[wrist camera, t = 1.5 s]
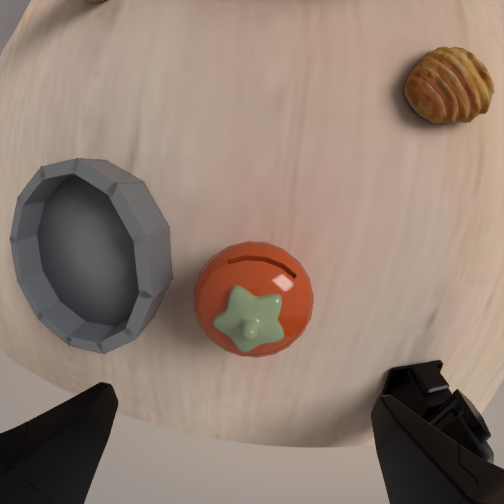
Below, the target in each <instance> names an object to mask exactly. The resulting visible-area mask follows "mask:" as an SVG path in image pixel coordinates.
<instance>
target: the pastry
mask: <svg viewBox="0 0 504 504" xmlns="http://www.w3.org/2000/svg"><path fill="white" fill-rule="evenodd" d="M404 93H405V97H406V98H407V100H408V102H409V104H410V105H411V107H412V108H413V109H414V110H415V111H416V112H417V113H418V114H419V115H420V116H422V117H423V118H425V119H427V120H429V121H431V122H432V123H435V124H438V123H449V124H454V123H458V122H471V120H473V119H474V118H475V117H476V116H477V115H479V114H484V113H486V112H487V111H488V109H489V104H490V103H491V100H492V95H493V93H494V85H493V81H492V78H491V76H490V74H489V72H488V70H487V68H486V67H485V65H484V64H483V63H482V62H480V61H479V60H478V59H477V58H476V56H475V55H474V54H473V53H471V52H469V51H467V50H465V49H464V48H458V47H453V48H448V47H440V48H437V49H436V50H434V51H432V52H429V53H427V54H426V55H425V57H424V58H423V59H422V60H421V62H420V63H419V64H418V65H417V66H416V67H415V69H413V71H412V72H411V73H410V75H409V76H408V78H407V81H406V84H405V87H404Z"/></svg>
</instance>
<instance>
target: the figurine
mask: <svg viewBox="0 0 504 504" xmlns="http://www.w3.org/2000/svg"><path fill="white" fill-rule="evenodd" d="M83 1H85V2H87V3H90V4H94V3H98V2H102V1H105V0H83Z"/></svg>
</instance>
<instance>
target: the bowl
mask: <svg viewBox="0 0 504 504" xmlns="http://www.w3.org/2000/svg"><path fill="white" fill-rule="evenodd" d="M169 228H170V227H169V225H168V224H167V222H166V220H165V218H164V217H163V215H162V213H161V212H160V210H159V208H158V206H157V205H156V203H155V201H154V199H153V197H152V196H151V194H150V192H149V190H148V189H147V187H146V185H145V183H144V181H142V180H140V179H138V178H137V177H135V176H133V175H131V174H130V173H128V172H126V171H124V170H123V169H121V168H119V167H117V166H116V165H114V164H112V163H110V162H108V161H107V160H99V159H85V158H76V159H72V160H67V161H63V162H59V163H54V164H50V165H46V166H41V167H40V169H39V170H38V171H37V172H36V174H35V175H34V176H33V178H32V179H31V180H30V181H29V183H28V184H27V185H26V187H25V188H24V189H23V191H22V192H21V194H20V195H19V196H18V199H17V203H16V208H15V213H14V218H13V224H12V230H11V236H10V241H11V248H12V255H13V261H14V266H15V271H16V276H17V281H18V283H19V285H20V287H21V289H22V291H23V293H24V295H25V297H26V298H27V300H28V302H29V304H30V306H31V307H32V309H33V311H34V313H35V314H36V316H37V318H38V319H39V320H40V321H41V322H42V323H43V324H44V325H45V326H47V327H48V328H49V329H50V330H51V331H52V332H53V333H55V334H56V335H57V336H58V337H59V338H61V339H62V340H63V341H64V342H66V343H67V344H68V345H69V346H73V347H77V348H81V349H85V350H89V351H93V352H98V353H102V354H105V353H107V352H109V351H111V350H114V349H116V348H118V347H120V346H122V345H124V344H126V343H129V342H131V341H133V340H136V339H137V337H138V336H139V335H140V334H141V332H142V331H143V330H144V329H145V327H146V326H147V325H148V324H149V322H150V321H151V320H152V319H153V318H154V316H155V314H156V312H157V310H158V307H159V305H160V303H161V301H162V299H163V297H164V295H165V293H166V291H167V288H168V286H169V284H170V282H171V280H172V279H173V275H172V263H171V249H170V233H169Z"/></svg>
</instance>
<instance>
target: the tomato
mask: <svg viewBox="0 0 504 504" xmlns="http://www.w3.org/2000/svg"><path fill="white" fill-rule="evenodd" d="M313 302H314V297H313V291H312V287H311V282H310V278H309V277H308V275H307V273H306V272H305V270H304V268H303V267H302V265H301V263H300V262H298V261H297V260H296V259H295V258H294V257H292V256H291V255H290V254H289V253H287V252H286V251H285V250H284V249H282V248H279V247H277V246H274V245H272V244H269V243H267V242H251V241H248V242H244V243H240V244H236V245H232V246H229V247H227V248H225V249H224V250H222V251H221V252H219V253H218V254H216V255H215V256H213V257H212V258H211V259H210V260H209V261H208V263H207V264H206V265H205V266H204V268H203V269H202V270H201V272H200V275H199V278H198V281H197V284H196V287H195V290H194V311H195V313H196V316H197V319H198V321H199V324H200V326H201V328H202V329H203V331H204V332H205V333H206V334H207V336H208V337H209V338H210V339H211V341H212V342H214V343H215V344H217V345H218V346H220V347H221V348H222V349H224V350H225V351H228V352H231V353H234V354H236V355H239V356H245V357H263V356H268V355H273V354H276V353H278V352H280V351H282V350H284V349H286V348H288V347H289V346H290V345H291V344H292V343H293V342H294V341H295V340H296V339H298V338H299V337H300V336H301V335H302V334H303V332H304V330H305V329H306V327H307V325H308V323H309V321H310V319H311V315H312V309H313Z"/></svg>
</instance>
